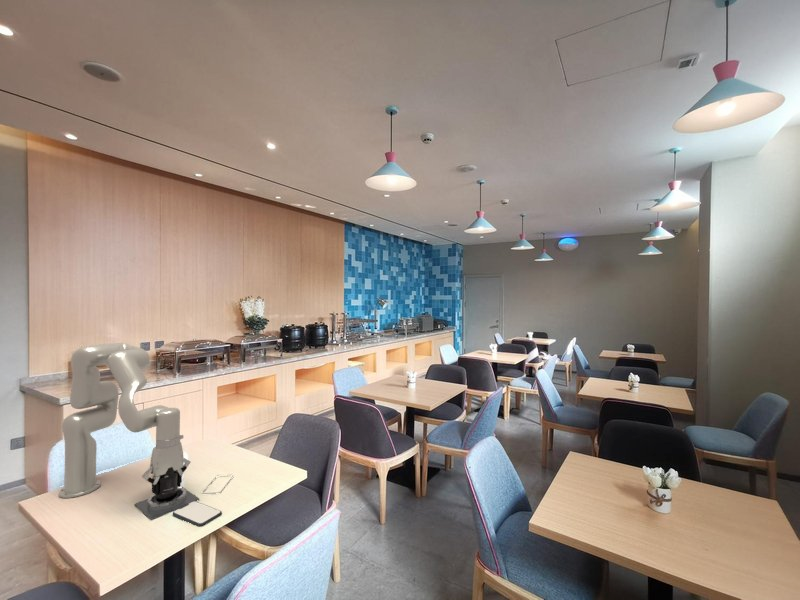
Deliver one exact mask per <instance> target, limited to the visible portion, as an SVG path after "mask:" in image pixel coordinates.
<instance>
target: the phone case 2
mask: <svg viewBox="0 0 800 600" xmlns="http://www.w3.org/2000/svg"><path fill="white" fill-rule="evenodd" d="M219 475H220V474H217V475H215V476H214V477H213V478H212V480H211V481H210V482H209V483H208V484H207V485H206V486H205V488H203V490H201V492H200V493H201V494H211V495H217V494H216V493H220V492H221V491H222V490H223V489H224V490H225V488H226V487H227V486H226V484H227V483H228V482H229V481H230V479H231V478H232V477H233V475H234V473H232V474H231V473H230V474H229V473H228V476H230V477H229V479H228V480H227V481H226V482H225V484H224V485H223V487H222V488H221V489H220V490H219V491H206V489H207V488H209V487H210V486H211V485H212V483H213V482H214V481H215V480H216V479H217V478H216V476H219ZM231 475H232V477H231ZM215 478H216V479H215ZM233 478H234V477H233ZM233 478H232V479H233ZM214 479H215V480H214ZM232 479H231V480H232ZM213 480H214V481H213ZM212 481H213V482H212ZM211 482H212V483H211ZM230 482H231V481H230ZM230 482H229V483H230ZM229 483H228V484H229ZM210 484H211V485H210ZM209 485H210V486H209ZM208 486H209V487H208ZM225 486H226V487H225ZM224 487H225V488H224ZM224 490H223V491H224ZM223 491H222V492H223ZM222 492H221V493H222ZM221 493H220V494H221ZM201 494H200V495H201Z"/></svg>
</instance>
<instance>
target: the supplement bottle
mask: <svg viewBox="0 0 800 600" xmlns="http://www.w3.org/2000/svg"><path fill="white" fill-rule="evenodd" d="M157 483H158V484H159V494H158V495H156V501H157V502H167V501H170V500H173V499H174V498H175V497H176V496H177V489H178V473H177V471H174V470H173V467H171V468H168V470H167V471H166V473H165V474H164V475H161V476H160V478H159V480H158V482H157Z"/></svg>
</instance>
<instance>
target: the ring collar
mask: <svg viewBox="0 0 800 600" xmlns="http://www.w3.org/2000/svg"><path fill="white" fill-rule="evenodd" d="M197 500H199V501H200V497H198V496H196V495H195V494H194V493H192V492H190V491H189V490H188V489H186V488H184V487H183V486H182V488H178V489H177V496H176V497H175V498H174V499H173V500H170V501H167V502H157V501H156V495H155V494H154V493H152V495H150V496H149V497H148V498H146V499H143V500H141V501H138V502H136V503H134V507H135V508H136V509H138V510H139V511H140V512H141V513H142V514H143V515H144V516H145V517H146V518H147V519H149V521H153V520H155V519H159V518H160V517H162V516H165V515H168V514H170V513H173V512H174V511H175V510H177V509H179V508H181V507H183V506H185V505H187V504H189V503H191V502H193V501H197ZM197 502H198V501H197Z"/></svg>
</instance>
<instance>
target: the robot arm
mask: <svg viewBox="0 0 800 600" xmlns="http://www.w3.org/2000/svg"><path fill="white" fill-rule="evenodd" d="M150 362H151V356H150V354H149V353H148V352H147V350H146V349H144V348H141V347H138V346H134V345H131V344H127V343H122V342H114V343H107V344H105V343H102V344H93V345H92V344H91V345H87V346H83V347H80V348H77V349H76V350H75V351H74V352H73V353H72V355H71V358H70V366H71V371H72V377H71V388H70V396H69V403H70V407H72V408H73V409H76V410H80V411H77V412H73V413H72V414H69V415H68V416H66V417H65V418H64V419H63V421H62V423H61V429H62V433H63V434H62V435H63V438H64V439H63V441H64V475H63V477H64V482H63V483H64V484H63V488H62V489H60V490H59V491H58V497H60V498H64V499H69V498H76V497H80V496H84V495H87V494H89V493H92V492H94V491H95V490H98V489H99V488H100V487H101V484H102V483H101V482H102V481H101V480H98V479H97V451H98V450H97V441H96V439H95V438H94V437H93V436H92V435H91V433H94V432H98V431H100V430H104V429H106V428H109V427H110V426H112V425H113V424H114V423H115V421H116V418H117V412H118V415H119V417H120V419H121V421H122V423H123V425H124V426H125V427H126V429H127V430H128V431H130V433H131V432H132V433H140V432H143V431H147V430H149V429H152V428H154V427H155V446H154V447H153V448H152V451H151V454H150V455H151V456H150V462H149V463H150V464H149V468H148V469H147V470H146V471H145V472H144V473H143V474H142V476H141V477H142V478H143V479H144V480H145V481H147V482H148V483H151V492H152V494H155V495H158V494H159V484H158V483H157V482H158V480H159V478H160V476H161V475H164V474H165V473H166V471H167V470H168V468H171V467H173V470H174V471H177V473H178V487H180V486H181V484H182V482H183V481H182V480H183V479H182V478H183V477H182V476H183V475H184V473H185V471H186V470H187V469H188V467H189V465H191V462H192V461H190V460H189V459H187V458H185V457H184V451H183V450H184V449H183V445H182V441H181V440H182V439H184V435H183V434H180V429H181V427H180V426H181V424H180V423H181V411H180V409H179V408H178V407H168V406H165V405H161V404H160V405H154V406H151V407H147V408H144V409H141V410H138V408H137V407H136V405H135V402H134V401H135V400H134V396H135V395H136V393H137V392H139V391H140V390H141V389H144V387H145V386H146V385H147V383H148V379H147V378H146V376H145V374H144V372H143V371H142V369H145V368H146V367H148V366H149V365H150ZM101 366H108V369H109V371H110V372H111V374H112V376H113V378H114V379H115V382H116V383H117V384H116V383H115V382H114V381H111V380H102V381H100V380H101V372H100V369H99V368H98V367H101ZM119 389H120V391H121V395H120V397H119V393H120V392H119ZM92 407H93V408H92ZM83 409H85V410H83ZM151 474H153V475H152V477H150V475H151Z"/></svg>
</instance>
